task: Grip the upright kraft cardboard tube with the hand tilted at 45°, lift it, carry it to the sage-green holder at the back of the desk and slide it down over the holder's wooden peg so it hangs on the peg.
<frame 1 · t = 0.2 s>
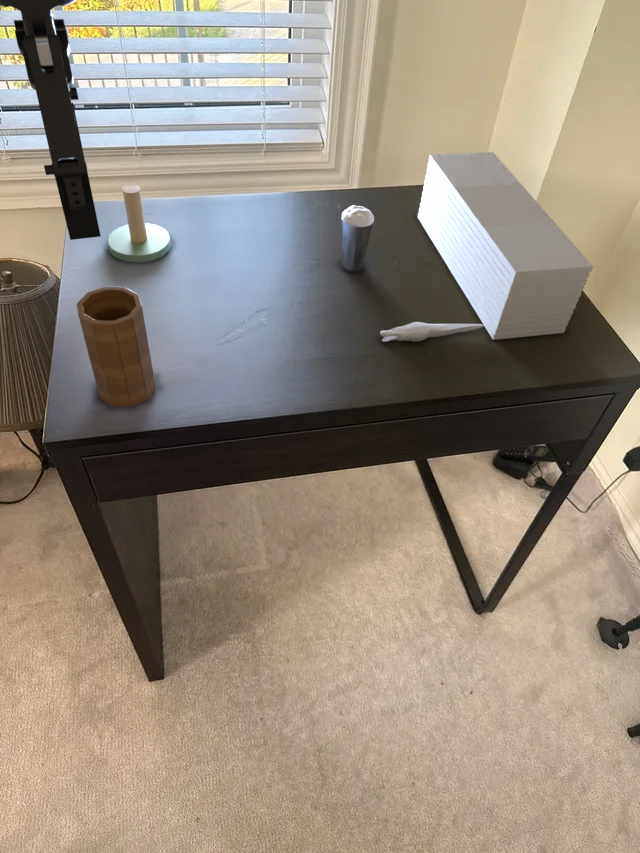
hand: (78, 200, 64), 21 cm above the table, tool pointing down, fingers open, 13 cm apart
white tapered spindle: (431, 336, 86), on the table
milkshake: (349, 267, 96), on the table
holder: (140, 245, 96), on the table
tube: (127, 387, 76), on the table
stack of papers: (483, 271, 98), on the table
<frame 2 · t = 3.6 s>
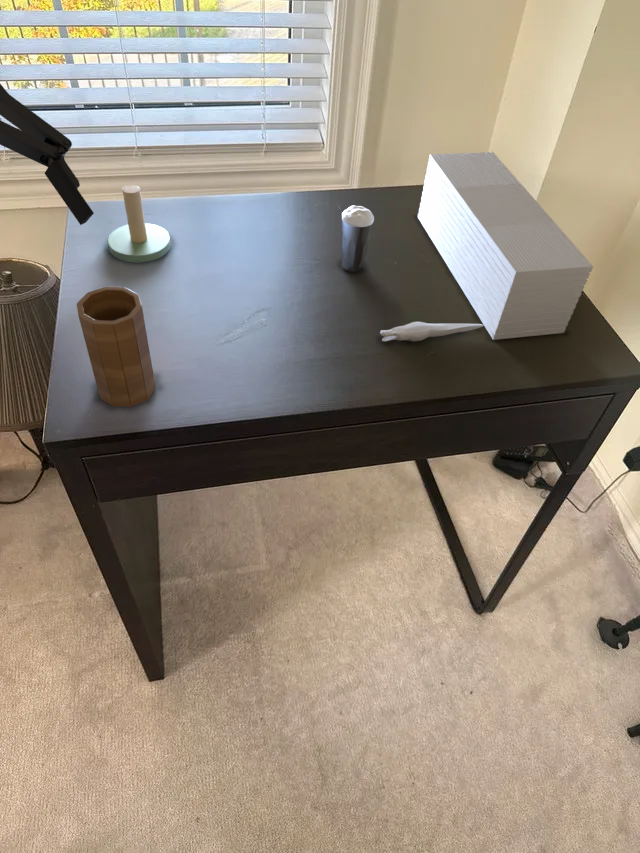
hand: (37, 244, 69), 15 cm above the table, tool tilted 45°, fingers open, 13 cm apart
nothing on the table moved.
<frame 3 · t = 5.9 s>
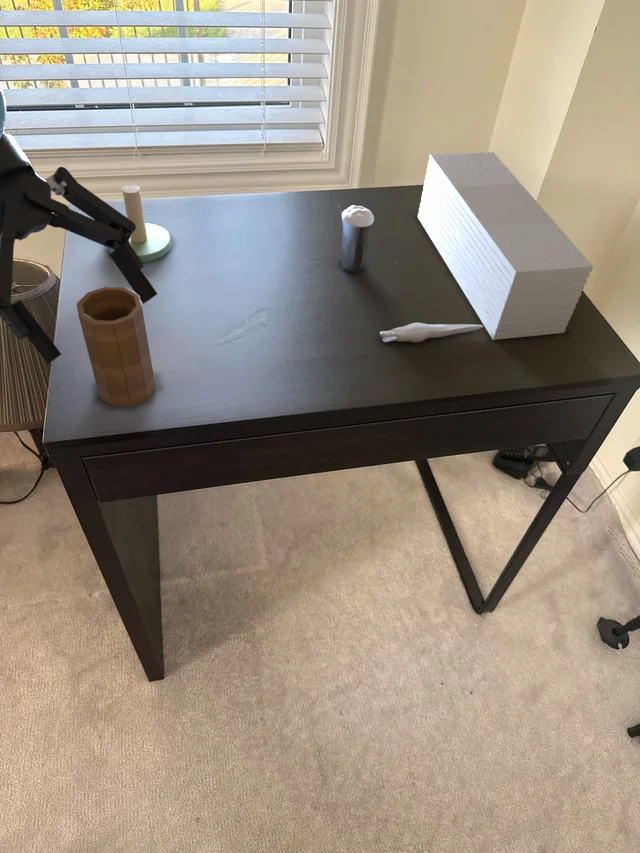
hand: (105, 327, 71), 8 cm above the table, tool tilted 45°, fingers open, 13 cm apart
nothing on the table moved.
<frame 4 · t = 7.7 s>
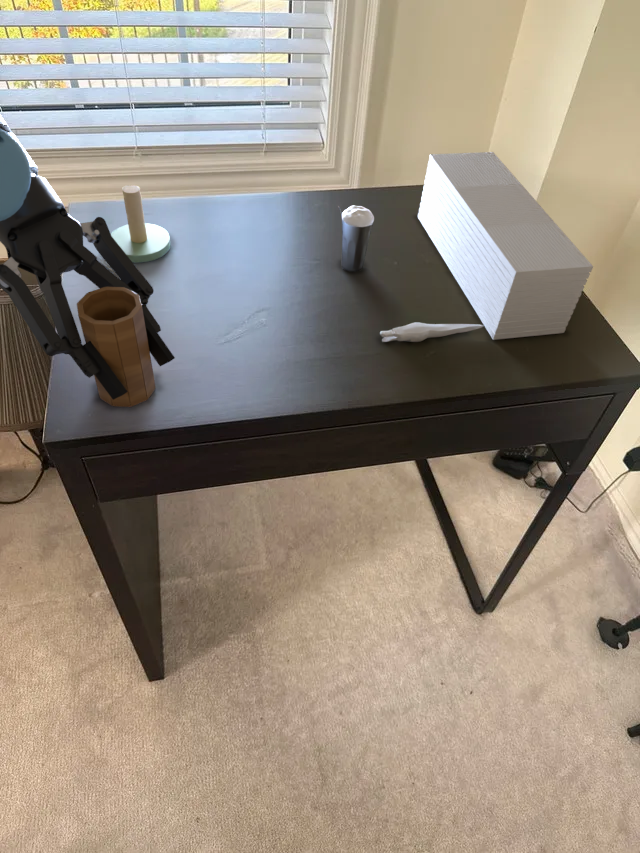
hand: (144, 378, 72), 4 cm above the table, tool tilted 45°, fingers closed on tube, 6 cm apart
tube: (127, 387, 76), on the table, touching gripper
everything else where it was.
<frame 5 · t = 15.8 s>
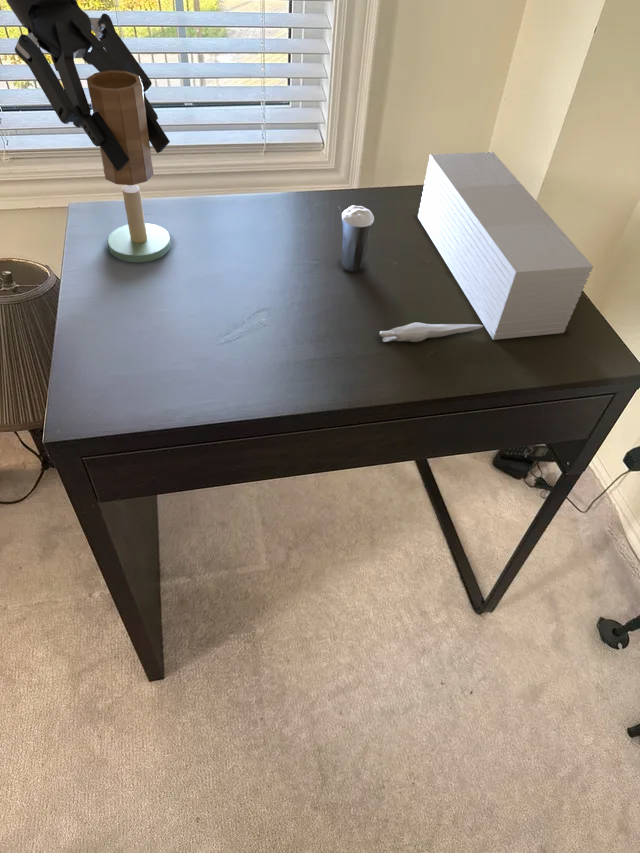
hand: (143, 156, 84), 15 cm above the table, tool tilted 45°, fingers closed on tube, 6 cm apart
tube: (128, 173, 88), point 11 cm above the table, touching gripper
everything else where it was.
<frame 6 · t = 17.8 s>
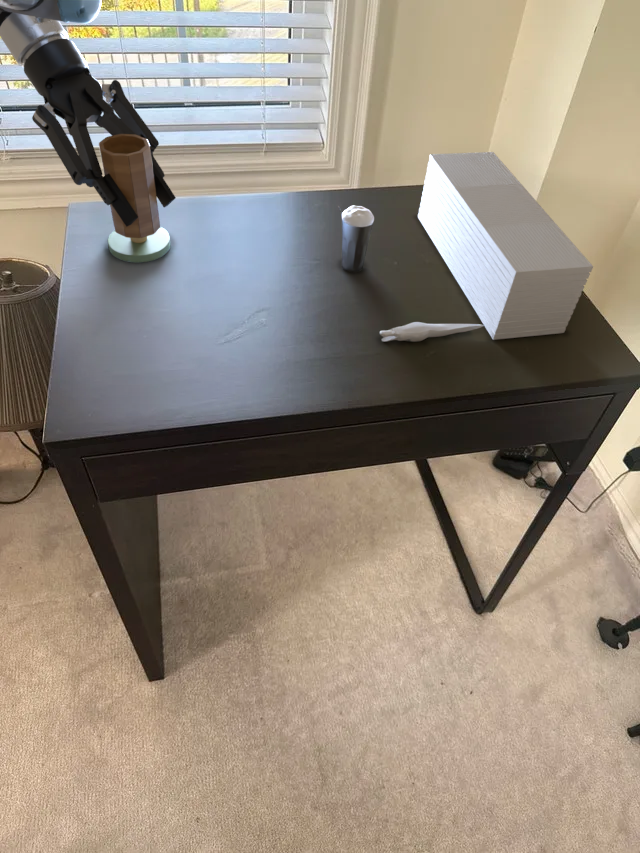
hand: (151, 211, 90), 7 cm above the table, tool tilted 45°, fingers closed on tube, 6 cm apart
tube: (137, 226, 94), point 3 cm above the table, touching gripper
everything else where it was.
when the fingers open (5 cm above the table, at t = 18.9 s): tube stays where it is, resting on holder.
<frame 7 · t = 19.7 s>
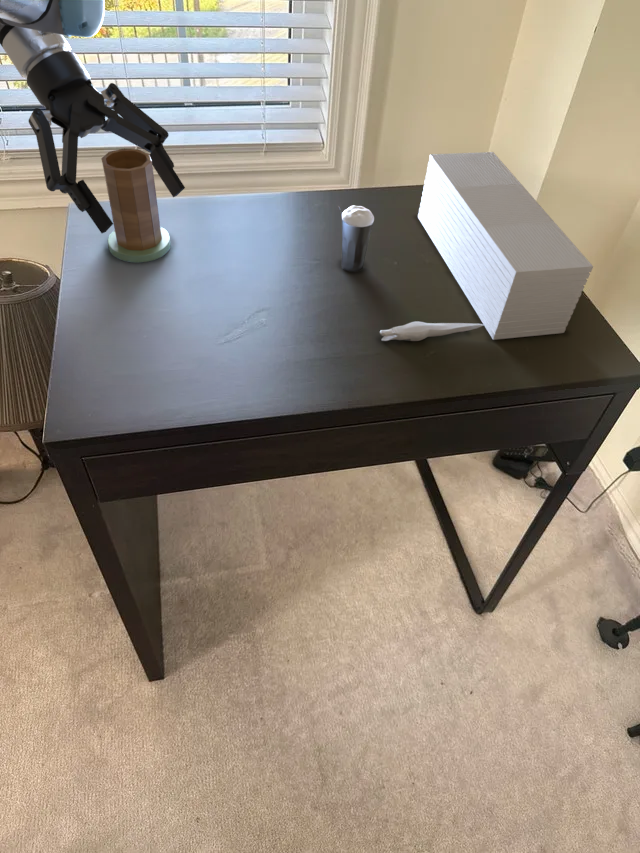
hand: (145, 210, 90), 7 cm above the table, tool tilted 45°, fingers open, 13 cm apart
tube: (139, 238, 95), point 1 cm above the table, touching holder
everything else where it was.
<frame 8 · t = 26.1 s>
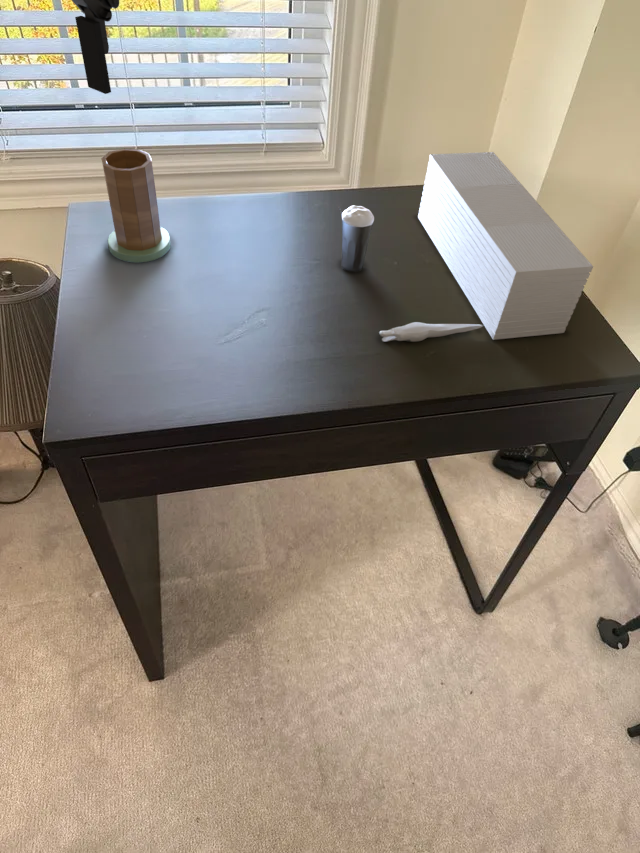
hand: (46, 108, 64), 27 cm above the table, tool pointing down, fingers open, 13 cm apart
nothing on the table moved.
at the end: tube 0.0 cm off-centre on the holder, point 1.2 cm above the holder's base; tube tilted 0°; the gripper is holding nothing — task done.
